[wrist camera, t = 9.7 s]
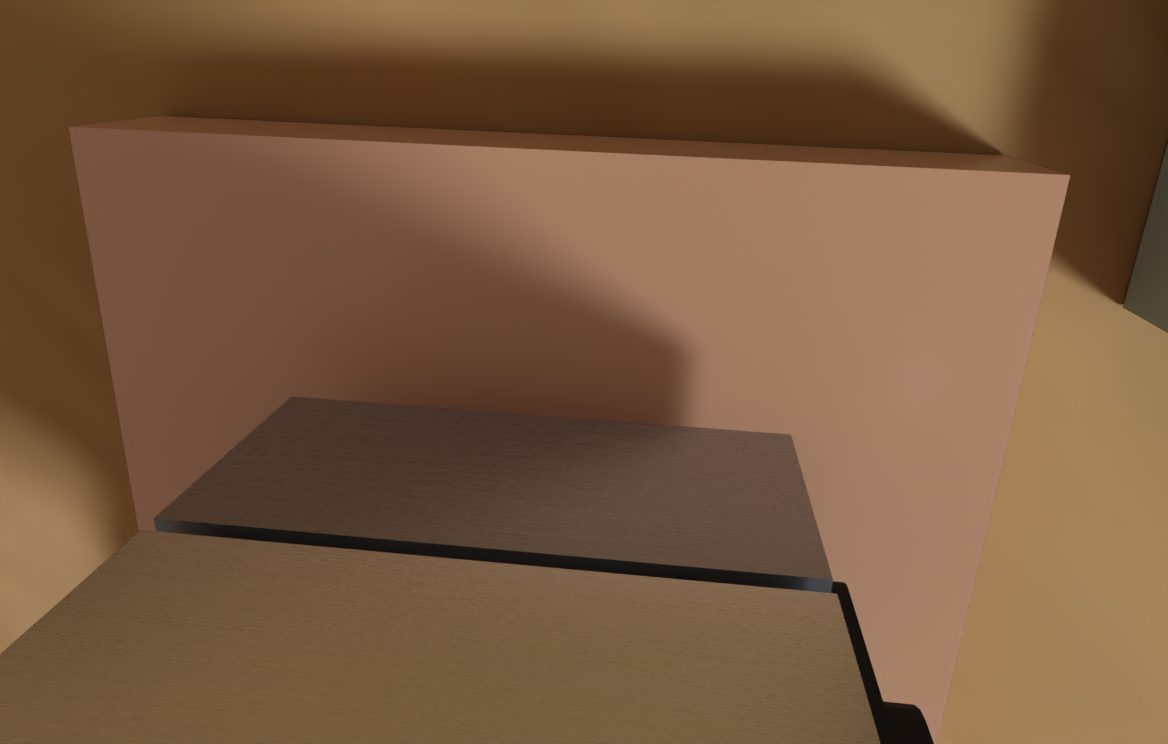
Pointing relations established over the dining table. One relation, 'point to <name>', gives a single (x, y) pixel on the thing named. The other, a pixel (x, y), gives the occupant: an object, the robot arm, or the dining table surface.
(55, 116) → the dining table surface
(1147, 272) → the stand
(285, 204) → the stand
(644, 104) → the dining table surface
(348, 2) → the dining table surface
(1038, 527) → the dining table surface
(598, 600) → the housing
